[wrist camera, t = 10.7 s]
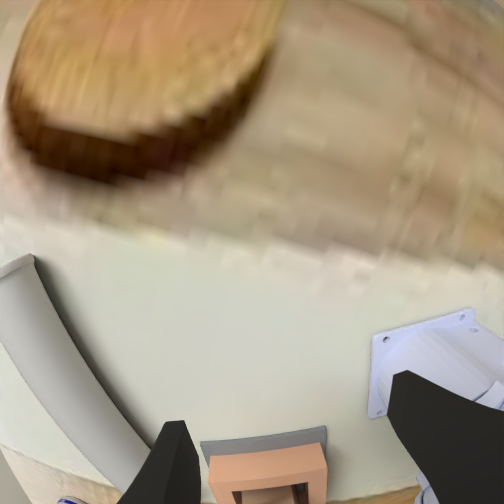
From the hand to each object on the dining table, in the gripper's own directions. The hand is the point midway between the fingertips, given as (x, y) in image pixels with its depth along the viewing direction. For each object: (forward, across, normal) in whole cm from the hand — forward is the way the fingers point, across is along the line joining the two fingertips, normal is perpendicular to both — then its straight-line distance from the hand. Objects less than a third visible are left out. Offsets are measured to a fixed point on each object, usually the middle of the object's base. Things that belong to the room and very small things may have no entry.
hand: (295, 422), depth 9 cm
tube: (+12, +13, +7) cm, 19 cm away
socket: (+10, +1, +18) cm, 20 cm away
